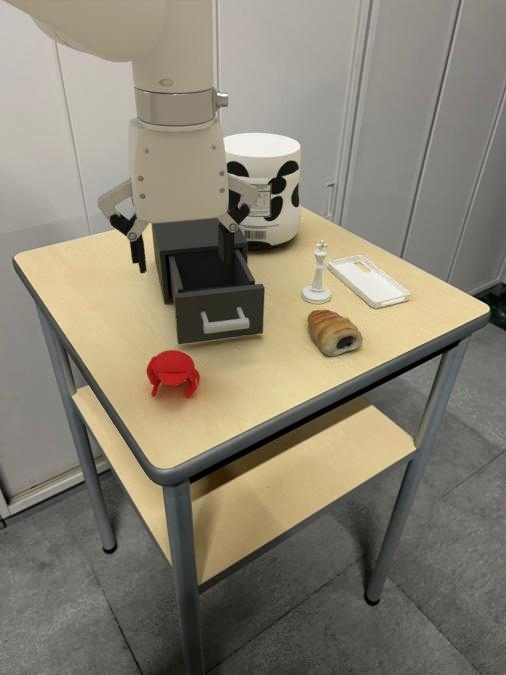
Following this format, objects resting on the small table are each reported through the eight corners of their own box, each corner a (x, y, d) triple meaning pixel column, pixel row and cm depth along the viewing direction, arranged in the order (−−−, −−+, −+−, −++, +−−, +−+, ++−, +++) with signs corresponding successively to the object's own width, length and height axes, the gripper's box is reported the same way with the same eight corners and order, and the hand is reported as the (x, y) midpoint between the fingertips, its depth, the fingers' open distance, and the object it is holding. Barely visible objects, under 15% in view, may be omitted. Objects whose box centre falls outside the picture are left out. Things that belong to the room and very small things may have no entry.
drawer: (271, 351, 72) (273, 304, 68) (182, 363, 70) (179, 316, 65) (241, 287, 86) (242, 244, 81) (166, 295, 83) (162, 251, 79)
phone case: (326, 267, 94) (373, 309, 83) (326, 260, 93) (375, 302, 82) (360, 260, 96) (410, 300, 85) (361, 253, 96) (412, 293, 85)
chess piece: (335, 302, 85) (342, 246, 79) (306, 305, 84) (312, 249, 78) (325, 286, 88) (331, 232, 82) (297, 289, 87) (302, 235, 81)
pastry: (295, 324, 79) (297, 303, 77) (334, 315, 81) (337, 295, 79) (325, 360, 72) (328, 338, 70) (366, 350, 74) (371, 328, 72)
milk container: (265, 212, 113) (268, 126, 103) (317, 241, 102) (327, 149, 92) (197, 230, 105) (192, 139, 94) (245, 265, 94) (247, 166, 83)
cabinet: (246, 295, 86) (247, 242, 80) (164, 304, 83) (159, 250, 77) (228, 254, 97) (227, 206, 91) (155, 262, 94) (150, 212, 88)
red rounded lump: (143, 378, 68) (138, 342, 65) (186, 367, 70) (183, 331, 67) (160, 418, 63) (155, 381, 59) (206, 405, 65) (204, 368, 61)
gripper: (250, 95, 55) (246, 242, 65) (82, 100, 51) (106, 256, 61) (271, 112, 49) (264, 270, 60) (83, 119, 45) (109, 287, 55)
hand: (183, 263), depth 60 cm, fingers open, 9 cm apart
